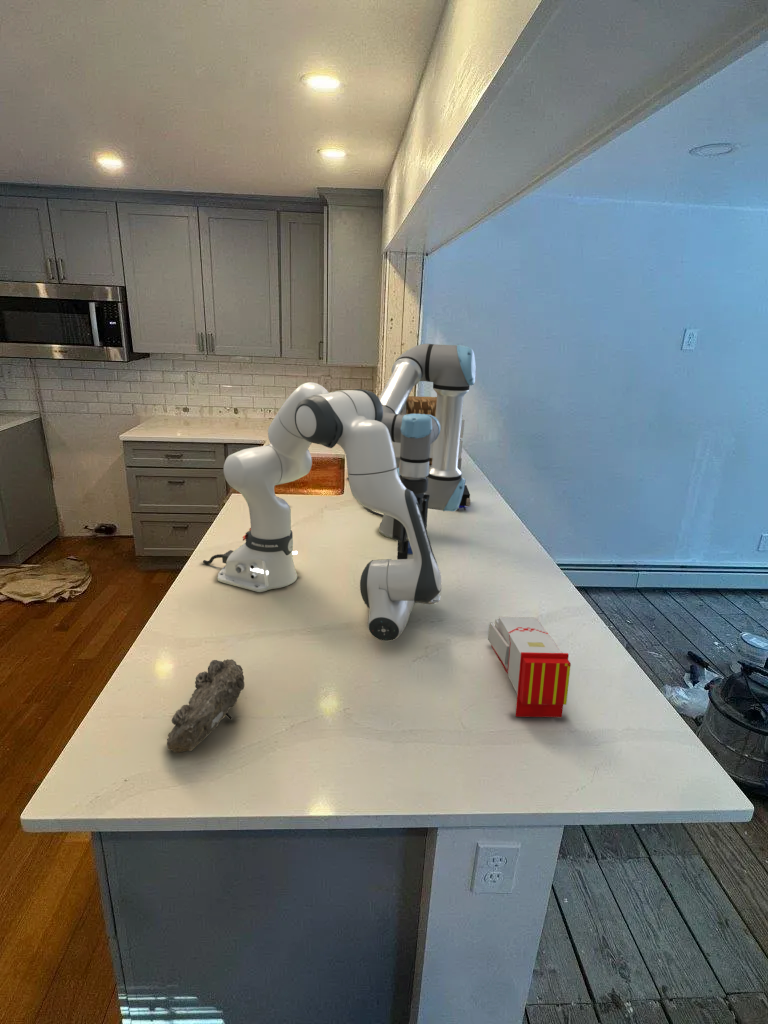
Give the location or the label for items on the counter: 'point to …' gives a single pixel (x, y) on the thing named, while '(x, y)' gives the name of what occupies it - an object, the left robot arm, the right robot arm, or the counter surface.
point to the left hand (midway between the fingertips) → (407, 574)
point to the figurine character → (465, 499)
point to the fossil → (206, 705)
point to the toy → (531, 665)
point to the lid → (409, 548)
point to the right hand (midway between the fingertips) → (408, 558)
